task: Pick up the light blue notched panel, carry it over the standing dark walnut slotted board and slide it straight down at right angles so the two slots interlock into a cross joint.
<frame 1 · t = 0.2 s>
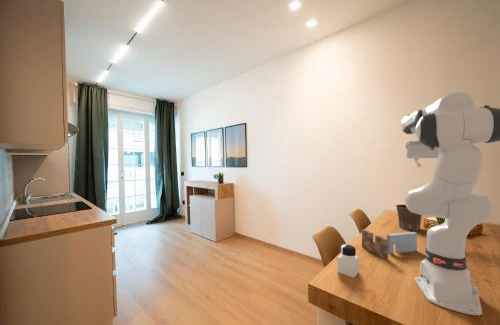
hand: (430, 167, 108), 47 cm above the table, fingers open, 8 cm apart
light blue notched panel: (402, 251, 116), on the table
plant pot: (408, 228, 155), on the table
medicine bottle: (348, 272, 95), on the table
walnut board: (374, 252, 115), on the table
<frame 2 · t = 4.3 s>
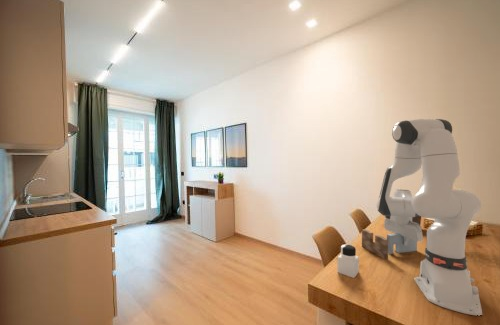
hand: (402, 243, 115), 5 cm above the table, fingers closed on light blue notched panel, 2 cm apart
light blue notched panel: (402, 251, 116), on the table, touching gripper
everything else where it was.
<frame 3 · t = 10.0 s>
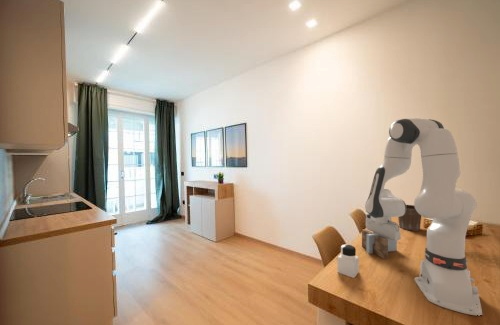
hand: (381, 242, 116), 5 cm above the table, fingers open, 5 cm apart
light blue notched panel: (381, 251, 116), on the table, touching walnut board
everything else where it was.
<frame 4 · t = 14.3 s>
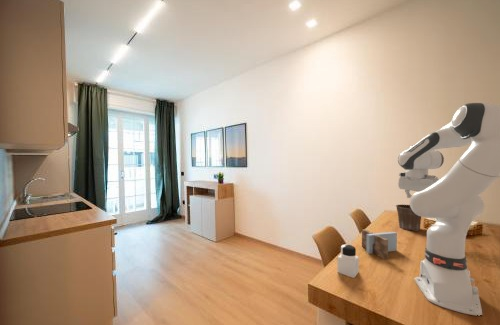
hand: (417, 199, 115), 29 cm above the table, fingers open, 8 cm apart
nothing on the table moved.
at the end: light blue notched panel 0.1 cm from the target spot on the table beside the walnut board, on the table; light blue notched panel tilted 0°; the gripper is holding nothing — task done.
